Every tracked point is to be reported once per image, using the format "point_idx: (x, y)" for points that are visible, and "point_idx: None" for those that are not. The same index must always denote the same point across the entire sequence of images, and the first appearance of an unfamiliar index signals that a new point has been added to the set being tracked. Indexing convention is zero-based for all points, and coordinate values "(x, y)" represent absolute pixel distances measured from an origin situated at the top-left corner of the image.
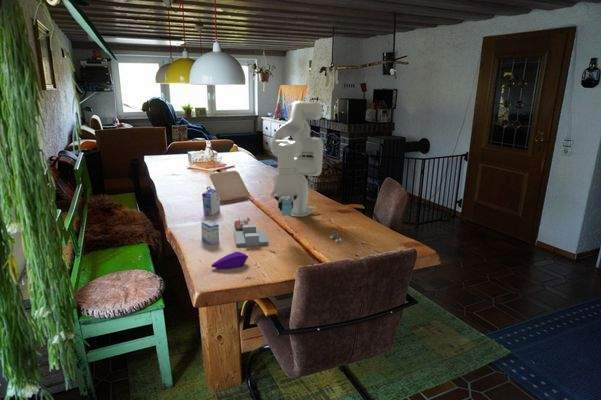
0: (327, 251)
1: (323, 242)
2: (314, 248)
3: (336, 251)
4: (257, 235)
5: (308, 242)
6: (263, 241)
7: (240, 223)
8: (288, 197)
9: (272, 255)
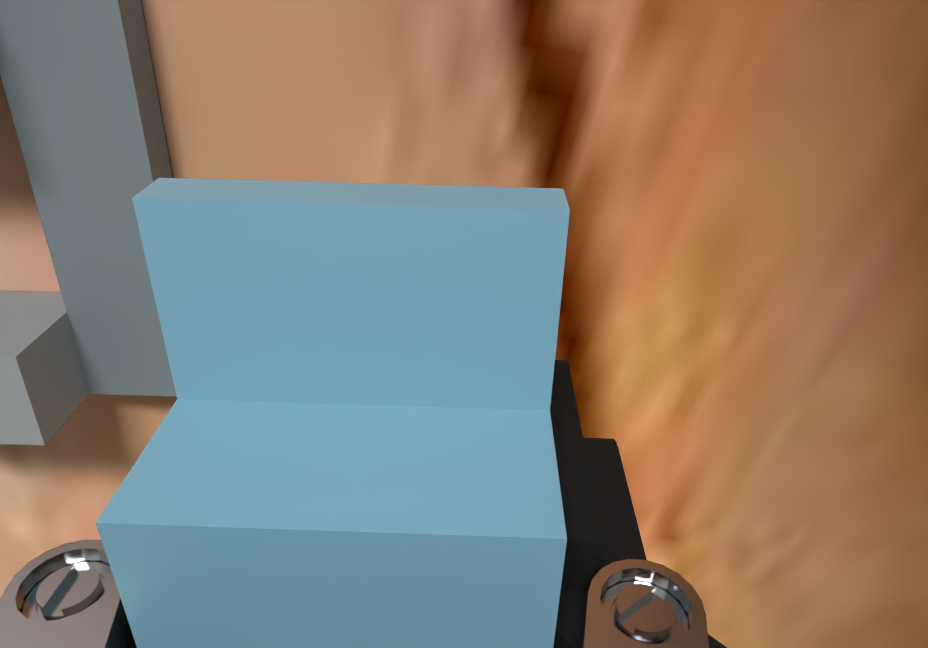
0: (759, 588)
1: (841, 413)
2: (672, 521)
3: (838, 599)
4: (21, 433)
5: (676, 387)
6: (139, 382)
7: None
8: (512, 635)
9: None
